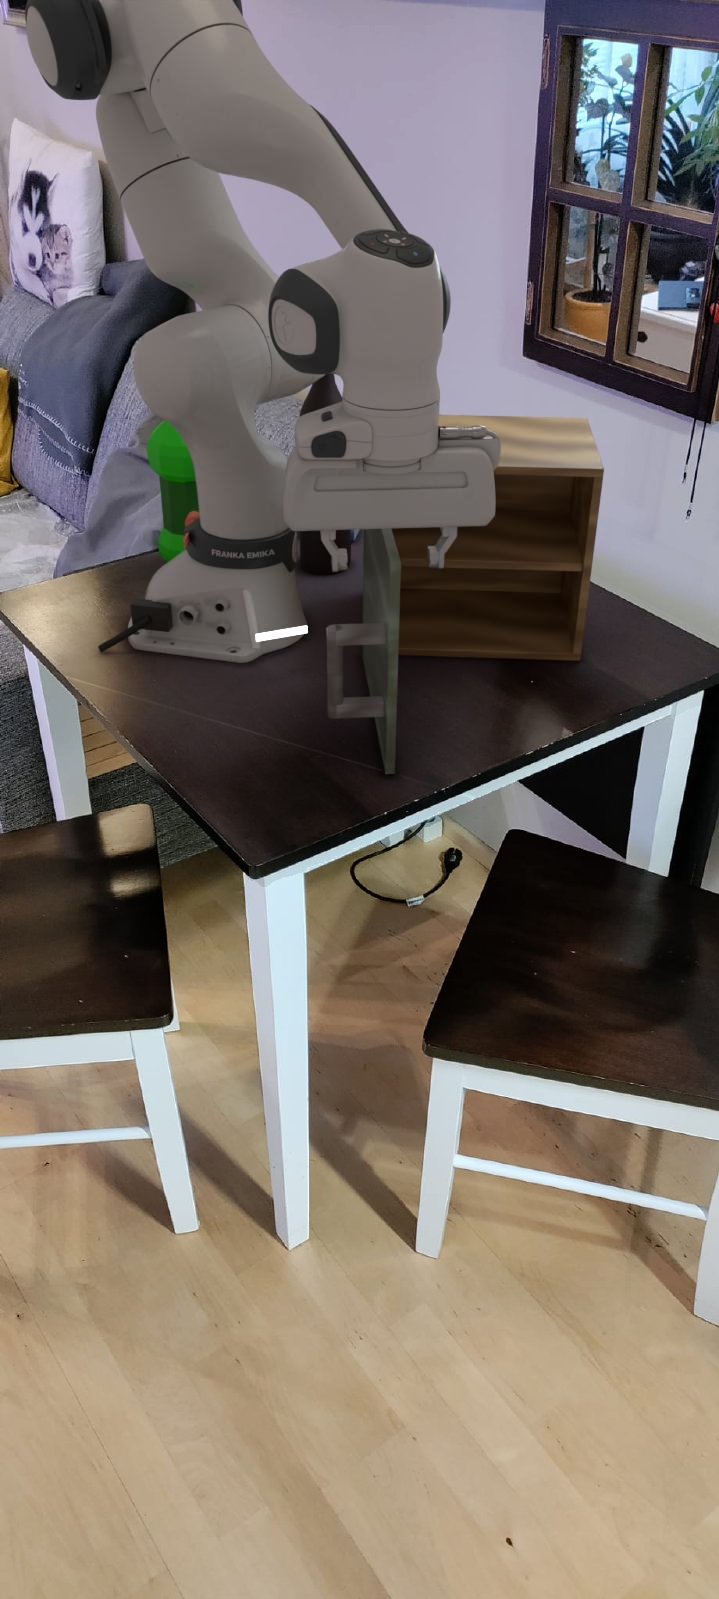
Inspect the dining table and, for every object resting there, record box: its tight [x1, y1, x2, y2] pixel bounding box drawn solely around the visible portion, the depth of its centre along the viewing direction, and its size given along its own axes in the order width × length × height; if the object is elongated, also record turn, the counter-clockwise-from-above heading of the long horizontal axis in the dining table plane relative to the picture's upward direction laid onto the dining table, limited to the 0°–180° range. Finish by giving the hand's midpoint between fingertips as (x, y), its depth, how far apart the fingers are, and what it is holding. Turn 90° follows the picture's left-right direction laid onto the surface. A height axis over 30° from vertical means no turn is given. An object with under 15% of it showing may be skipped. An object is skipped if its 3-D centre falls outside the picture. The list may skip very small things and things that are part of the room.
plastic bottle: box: [146, 419, 199, 563], centre depth 162 cm, size 10×10×25 cm
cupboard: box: [391, 414, 605, 661], centre depth 149 cm, size 18×26×24 cm
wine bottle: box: [298, 373, 352, 575], centre depth 162 cm, size 7×7×30 cm
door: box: [326, 529, 401, 775], centre depth 130 cm, size 7×26×24 cm, turn 5°
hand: (387, 567), depth 119 cm, fingers open, 8 cm apart
